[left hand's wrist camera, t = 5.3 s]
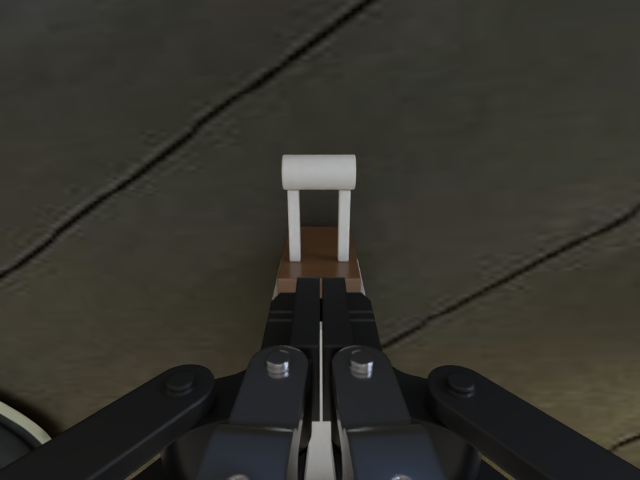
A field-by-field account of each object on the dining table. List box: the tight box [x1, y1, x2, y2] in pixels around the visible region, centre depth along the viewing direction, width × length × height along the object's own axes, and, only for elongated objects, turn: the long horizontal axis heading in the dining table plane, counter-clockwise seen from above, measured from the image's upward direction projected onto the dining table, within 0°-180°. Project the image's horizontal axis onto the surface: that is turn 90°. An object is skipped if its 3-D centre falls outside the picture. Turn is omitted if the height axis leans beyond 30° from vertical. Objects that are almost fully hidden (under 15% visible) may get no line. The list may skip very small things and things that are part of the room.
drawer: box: [277, 155, 361, 322], centre depth 26 cm, size 22×4×8 cm, turn 0°
